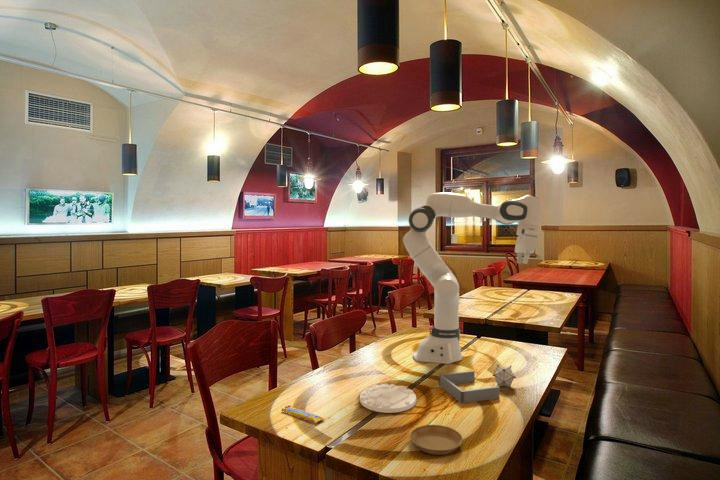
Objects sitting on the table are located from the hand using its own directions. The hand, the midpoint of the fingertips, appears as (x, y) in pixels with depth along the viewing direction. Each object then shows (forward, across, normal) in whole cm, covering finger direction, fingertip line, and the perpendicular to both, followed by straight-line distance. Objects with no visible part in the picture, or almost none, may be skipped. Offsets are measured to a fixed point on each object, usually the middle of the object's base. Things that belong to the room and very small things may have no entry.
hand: (521, 263), depth 192 cm
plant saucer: (+58, +70, -33) cm, 97 cm away
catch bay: (+51, +30, -19) cm, 62 cm away
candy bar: (+64, +56, -75) cm, 113 cm away
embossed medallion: (+58, +42, -48) cm, 86 cm away
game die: (+49, +25, -5) cm, 55 cm away
